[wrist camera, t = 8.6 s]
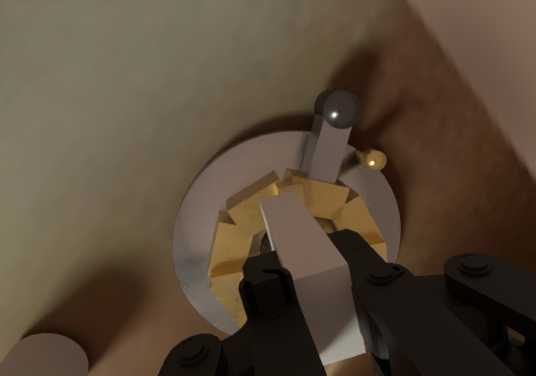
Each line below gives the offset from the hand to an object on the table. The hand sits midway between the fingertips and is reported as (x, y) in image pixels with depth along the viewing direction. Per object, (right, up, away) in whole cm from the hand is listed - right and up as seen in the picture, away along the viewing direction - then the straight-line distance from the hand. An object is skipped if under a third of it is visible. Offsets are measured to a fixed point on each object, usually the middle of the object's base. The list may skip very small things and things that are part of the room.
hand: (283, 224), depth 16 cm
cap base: (+1, -4, +22) cm, 22 cm away
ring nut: (+2, -1, +19) cm, 19 cm away
